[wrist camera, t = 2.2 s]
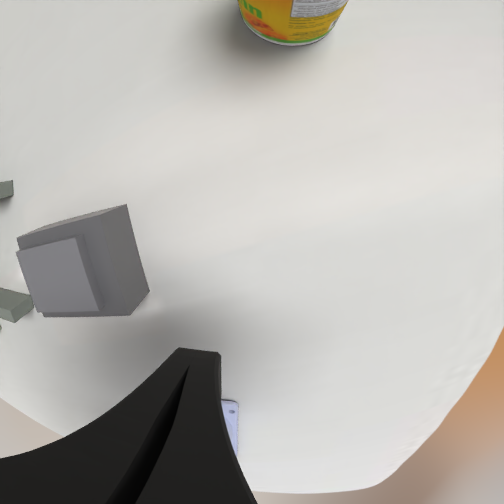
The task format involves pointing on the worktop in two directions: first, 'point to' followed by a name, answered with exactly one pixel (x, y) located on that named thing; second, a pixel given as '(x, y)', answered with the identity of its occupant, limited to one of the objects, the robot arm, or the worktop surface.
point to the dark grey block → (84, 266)
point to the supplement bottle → (291, 19)
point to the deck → (4, 300)
